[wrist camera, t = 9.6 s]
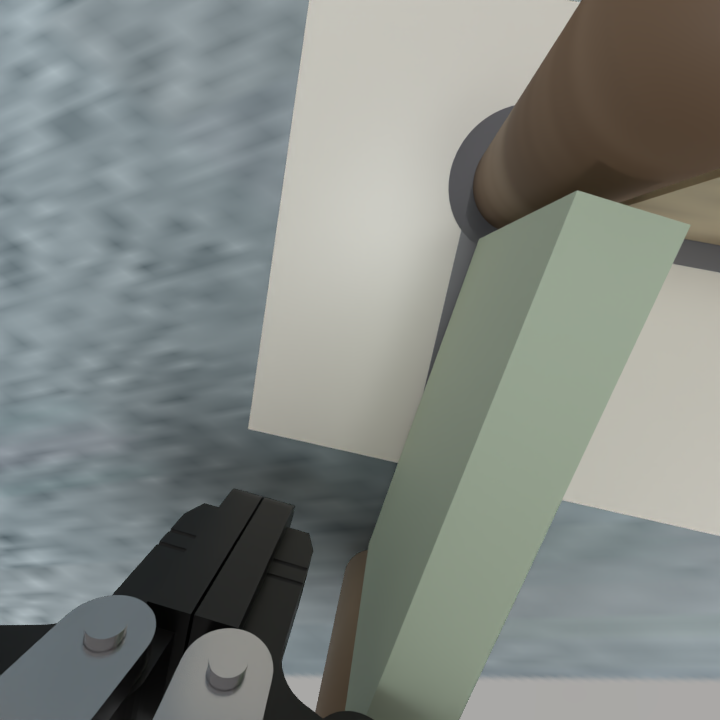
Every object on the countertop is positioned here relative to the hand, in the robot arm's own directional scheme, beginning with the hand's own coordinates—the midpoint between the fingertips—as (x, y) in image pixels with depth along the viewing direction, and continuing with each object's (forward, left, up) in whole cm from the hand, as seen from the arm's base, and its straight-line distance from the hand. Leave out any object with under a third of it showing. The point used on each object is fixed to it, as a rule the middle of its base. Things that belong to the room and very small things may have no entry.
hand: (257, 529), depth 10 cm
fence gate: (-4, -2, -2) cm, 5 cm away
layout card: (-7, -7, -3) cm, 10 cm away
